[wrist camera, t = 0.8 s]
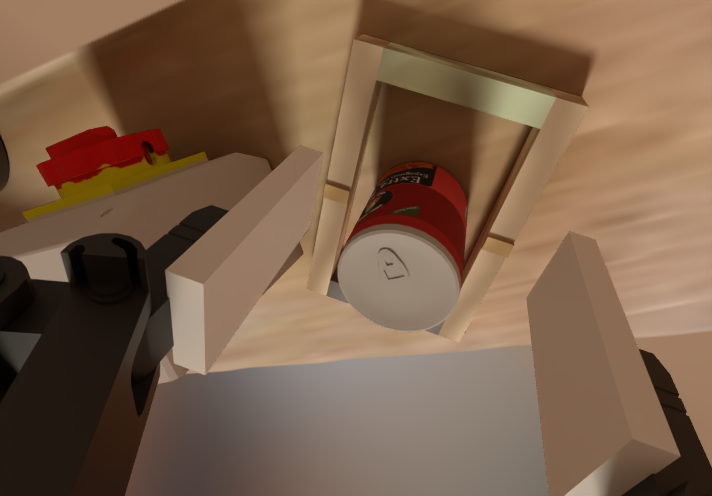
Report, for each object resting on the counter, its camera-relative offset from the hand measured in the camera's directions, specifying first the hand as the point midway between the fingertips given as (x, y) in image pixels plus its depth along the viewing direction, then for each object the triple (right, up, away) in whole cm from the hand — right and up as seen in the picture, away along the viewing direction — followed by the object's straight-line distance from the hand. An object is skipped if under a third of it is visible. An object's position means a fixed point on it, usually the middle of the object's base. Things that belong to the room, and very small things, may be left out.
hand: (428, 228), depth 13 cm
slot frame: (+3, +3, +21) cm, 21 cm away
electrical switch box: (-16, +5, +26) cm, 31 cm away
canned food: (+3, +3, +21) cm, 22 cm away
